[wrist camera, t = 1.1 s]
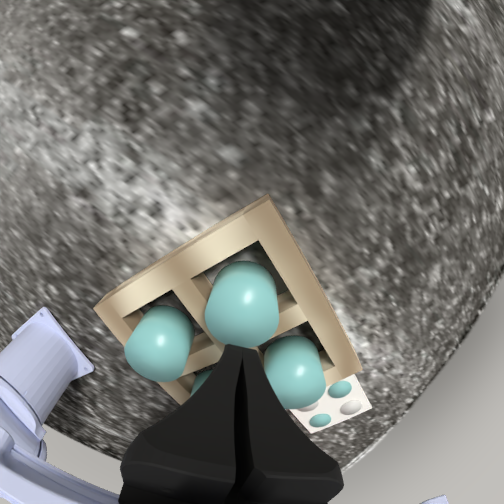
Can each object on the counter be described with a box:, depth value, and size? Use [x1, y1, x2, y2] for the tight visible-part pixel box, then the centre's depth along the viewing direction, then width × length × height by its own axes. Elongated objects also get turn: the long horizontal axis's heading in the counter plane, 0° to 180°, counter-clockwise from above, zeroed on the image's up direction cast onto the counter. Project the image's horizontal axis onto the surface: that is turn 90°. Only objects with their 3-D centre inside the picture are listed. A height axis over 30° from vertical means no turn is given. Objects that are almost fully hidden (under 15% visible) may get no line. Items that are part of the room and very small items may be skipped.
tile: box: [289, 374, 372, 433], centre depth 25 cm, size 7×7×1 cm
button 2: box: [125, 305, 195, 382], centre depth 18 cm, size 4×4×4 cm
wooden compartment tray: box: [93, 194, 363, 405], centre depth 21 cm, size 15×15×2 cm
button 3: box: [264, 336, 326, 409], centre depth 19 cm, size 4×4×4 cm
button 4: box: [205, 261, 279, 348], centre depth 17 cm, size 4×4×4 cm
